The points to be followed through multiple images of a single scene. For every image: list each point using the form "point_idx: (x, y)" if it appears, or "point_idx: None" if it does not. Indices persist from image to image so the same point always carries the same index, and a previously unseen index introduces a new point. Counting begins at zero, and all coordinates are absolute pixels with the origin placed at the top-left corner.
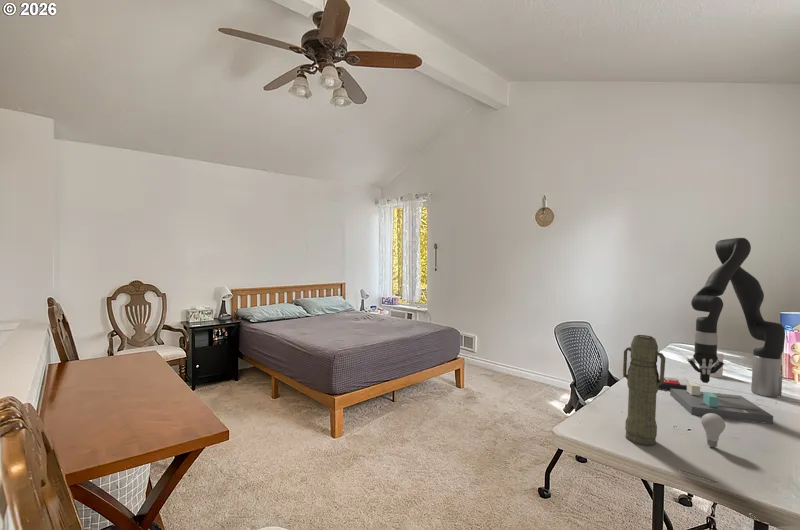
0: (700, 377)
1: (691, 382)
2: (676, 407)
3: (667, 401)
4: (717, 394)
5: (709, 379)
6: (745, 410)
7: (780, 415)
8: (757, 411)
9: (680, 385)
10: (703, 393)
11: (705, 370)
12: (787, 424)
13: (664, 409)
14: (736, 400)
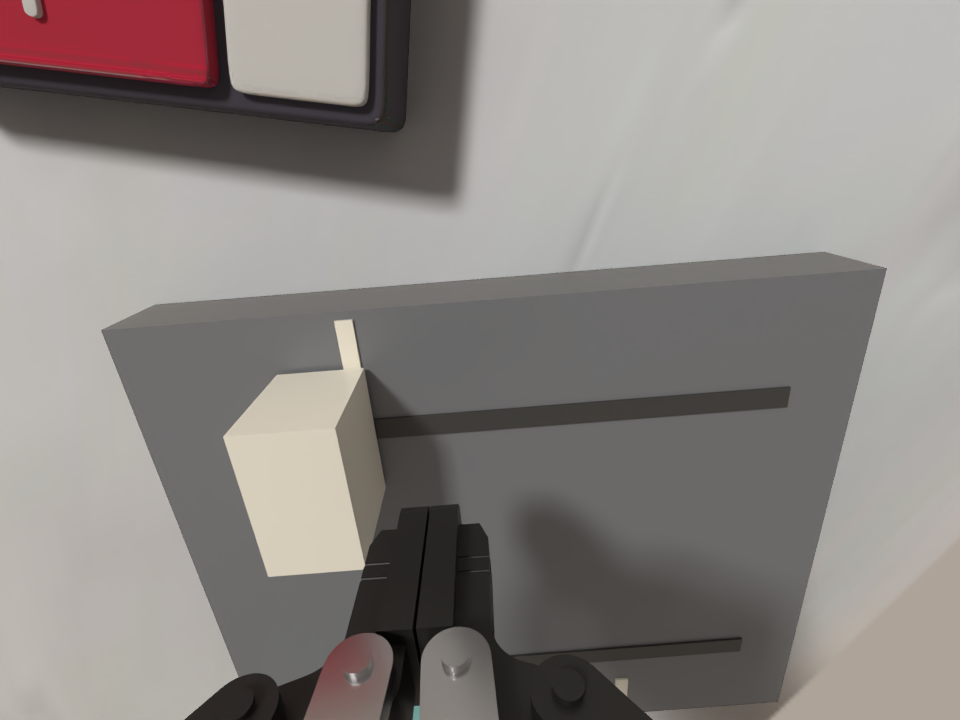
0: (365, 578)
1: (283, 438)
2: (199, 604)
3: (134, 505)
4: (608, 341)
5: (492, 599)
6: (637, 673)
7: (948, 471)
8: (720, 662)
9: (229, 104)
10: (455, 370)
11: (436, 708)
12: (843, 619)
13: (120, 667)
14: (712, 470)
